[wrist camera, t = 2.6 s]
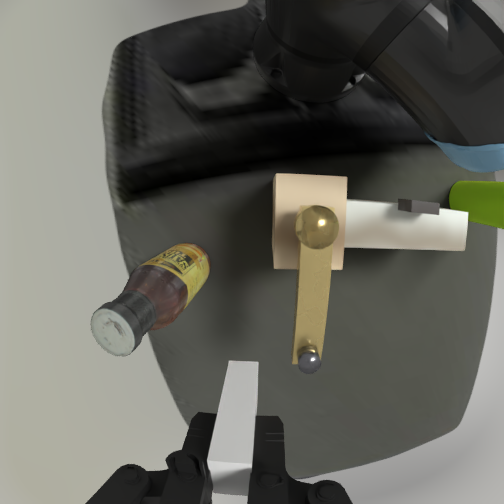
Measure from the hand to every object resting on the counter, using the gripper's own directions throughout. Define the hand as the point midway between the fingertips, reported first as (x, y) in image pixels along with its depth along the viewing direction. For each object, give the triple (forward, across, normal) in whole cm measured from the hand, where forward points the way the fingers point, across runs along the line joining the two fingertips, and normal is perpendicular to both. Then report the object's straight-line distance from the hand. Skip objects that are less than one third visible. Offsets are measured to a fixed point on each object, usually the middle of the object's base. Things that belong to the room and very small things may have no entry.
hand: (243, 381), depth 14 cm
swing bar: (+10, +5, +2) cm, 11 cm away
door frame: (+23, +12, +7) cm, 27 cm away
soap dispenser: (+23, +31, +10) cm, 40 cm away
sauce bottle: (+23, -9, 0) cm, 25 cm away
